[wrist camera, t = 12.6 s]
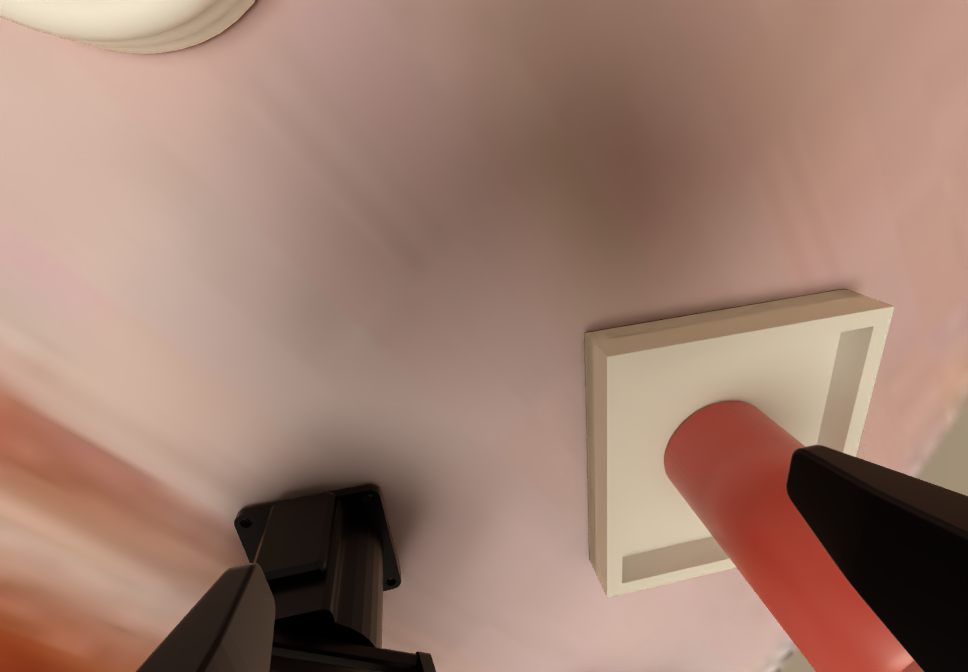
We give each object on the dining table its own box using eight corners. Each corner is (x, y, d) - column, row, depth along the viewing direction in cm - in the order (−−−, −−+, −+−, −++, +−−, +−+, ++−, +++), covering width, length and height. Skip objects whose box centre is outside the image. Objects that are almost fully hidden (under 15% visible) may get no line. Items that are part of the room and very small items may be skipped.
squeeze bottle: (750, 489, 26) (1116, 870, 13) (653, 496, 25) (945, 919, 12) (782, 398, 24) (1269, 750, 11) (678, 402, 23) (1073, 797, 10)
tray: (798, 511, 29) (832, 544, 27) (589, 559, 27) (607, 598, 25) (845, 288, 23) (894, 306, 21) (584, 333, 22) (606, 357, 19)
